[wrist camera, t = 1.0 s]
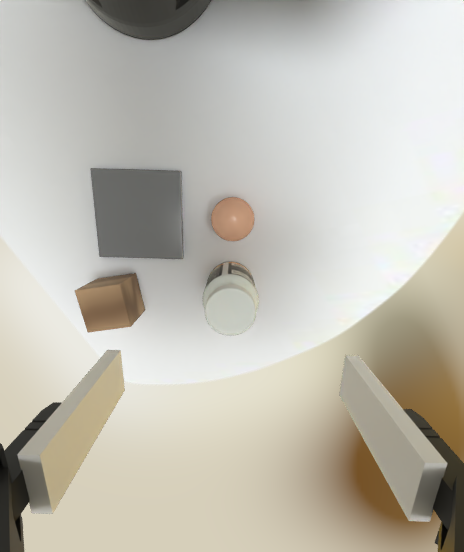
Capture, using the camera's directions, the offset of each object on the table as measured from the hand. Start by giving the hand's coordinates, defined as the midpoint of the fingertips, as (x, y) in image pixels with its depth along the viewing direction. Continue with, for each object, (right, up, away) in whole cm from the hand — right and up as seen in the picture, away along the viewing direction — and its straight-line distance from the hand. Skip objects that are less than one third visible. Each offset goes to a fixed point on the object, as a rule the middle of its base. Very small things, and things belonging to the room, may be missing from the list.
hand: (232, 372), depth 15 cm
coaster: (-11, +13, +16) cm, 23 cm away
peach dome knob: (0, +13, +16) cm, 20 cm away
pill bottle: (0, +5, +18) cm, 19 cm away
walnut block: (-14, +3, +18) cm, 23 cm away
